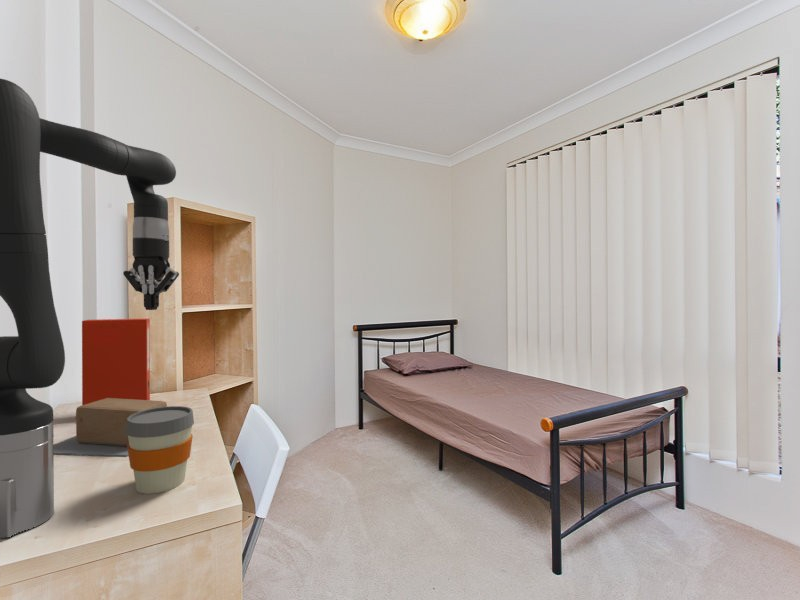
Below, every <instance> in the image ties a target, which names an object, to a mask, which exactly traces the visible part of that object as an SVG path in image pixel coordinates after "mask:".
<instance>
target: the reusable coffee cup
mask: <svg viewBox="0 0 800 600" xmlns="http://www.w3.org/2000/svg"><path fill="white" fill-rule="evenodd" d="M193 411H194V410H193V408H192V407H188V406H181V405H179V406H178V405H171V406H170V405H169V406H167V407H159V408H153V409H148V410H144V411H140V412H137V413H135V414H132V415H131V416H129V417H128V418H127V425H126V434H127V435H128V439H129V444H128V445H127V449H128V460H129V461H128V462H129V466H130V469H131V470H133V476H134V483H135V489H136V492H137V493H140V494H145V495H147V494H148V495H151V494H160V493H163V492H167V491H171V490H173V489H176V488H177V487H179V486H180V485H182V484H183V483H184V482H185V480H186V479H185V478H186V472H187V463H188V459H189V458H190V456H191V452H192V451H191V450H192V444H193V437H194V436H193V433H192V428H193V425H194V424H195V419H194V412H193Z"/></svg>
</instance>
